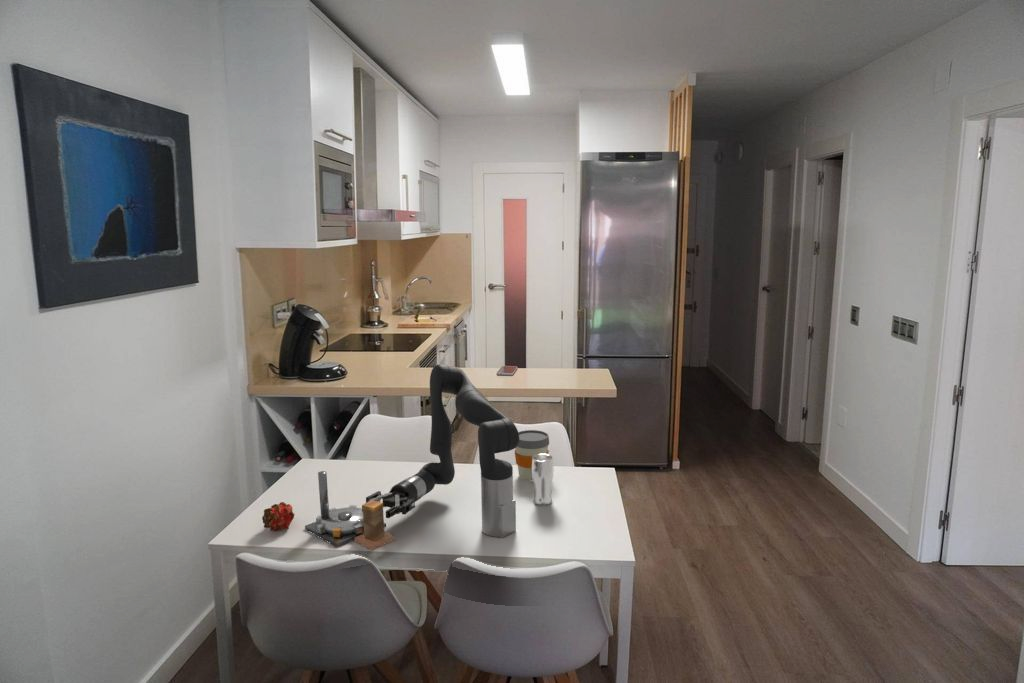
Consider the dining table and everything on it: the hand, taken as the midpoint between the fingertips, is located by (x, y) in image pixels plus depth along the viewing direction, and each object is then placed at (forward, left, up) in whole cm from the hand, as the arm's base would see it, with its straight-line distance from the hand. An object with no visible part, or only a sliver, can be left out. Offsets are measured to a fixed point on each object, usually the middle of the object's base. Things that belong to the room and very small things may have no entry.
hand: (374, 512), depth 194 cm
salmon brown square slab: (0, 0, -8) cm, 8 cm away
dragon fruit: (+28, +14, -9) cm, 33 cm away
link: (0, 0, -7) cm, 7 cm away
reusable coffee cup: (-2, -66, -9) cm, 66 cm away
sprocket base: (+13, +1, -8) cm, 16 cm away
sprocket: (+13, +1, -7) cm, 15 cm away
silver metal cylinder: (-19, -52, -9) cm, 56 cm away
